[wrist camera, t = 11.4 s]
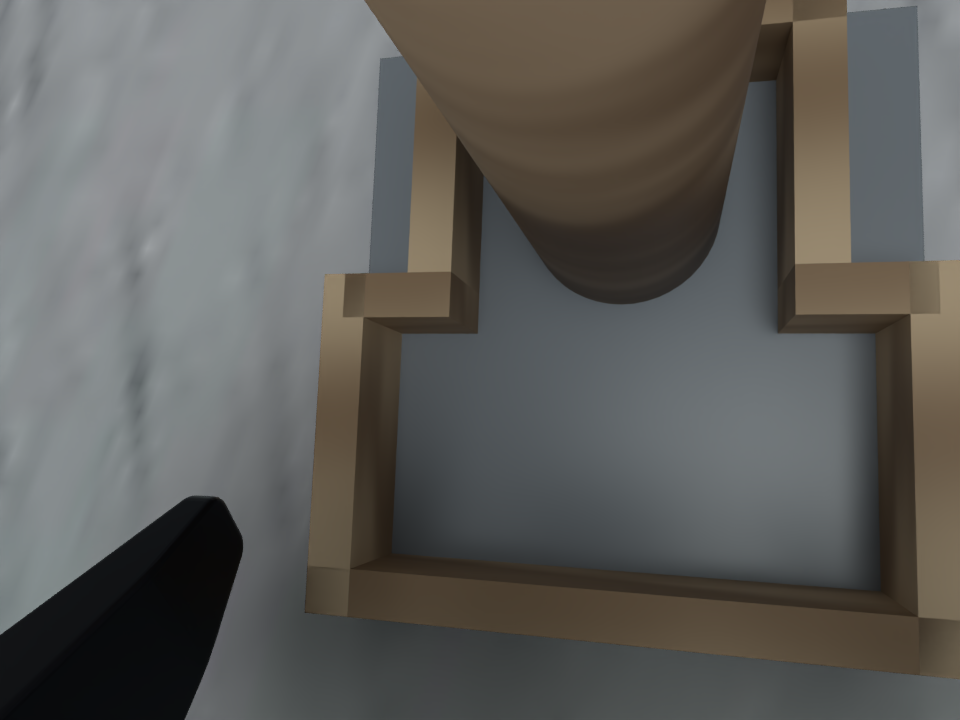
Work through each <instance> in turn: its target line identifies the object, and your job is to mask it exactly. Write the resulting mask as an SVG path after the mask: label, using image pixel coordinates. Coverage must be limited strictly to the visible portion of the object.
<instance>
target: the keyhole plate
mask: <svg viewBox="0 0 960 720" xmlns="http://www.w3.org/2000/svg"><path fill="white" fill-rule="evenodd" d="M305 613H313V614H323V615H333V616H343V617H353V618H362V619H372V620H382V621H392V622H402V623H412V624H421V625H431V626H441V627H451V628H461V629H470V630H480V631H490V632H500V633H510V634H520V635H529V636H539V637H549V638H559V639H569V640H578V641H588V642H598V643H608V644H618V645H628V646H637V647H647V648H657V649H667V650H677V651H686V652H696V653H706V654H716V655H726V656H736V657H745V658H755V659H765V660H775V661H785V662H794V663H804V664H814V665H824V666H834V667H844V668H853V669H863V670H873V671H883V672H893V673H902V674H912V675H922V676H932V677H942V678H952V679H960V260H950V261H924V231H923V195H922V160H921V125H920V90H919V54H918V19H917V6H910V7H900V8H890V9H880V10H870V11H859V12H849V13H847V0H766V4H765V9H764V14H763V19H762V23H761V28H760V33H759V38H758V43H757V47H756V52H755V57H754V62H753V66H752V71H751V76H750V81H749V86H748V90H747V95H746V100H745V105H744V109H743V114H742V119H741V124H740V129H739V133H738V138H737V143H736V148H735V153H734V157H733V162H732V167H731V172H730V176H729V181H728V186H727V191H726V196H725V200H724V205H723V210H722V215H721V219H720V224H719V229H718V233H717V236H716V239H715V242H714V244H713V246H712V248H711V250H710V252H709V254H708V256H707V257H706V259H705V260H704V262H703V263H702V265H701V266H700V267H699V268H698V269H697V270H696V272H695V273H694V274H693V275H692V276H691V277H690V278H688V279H687V280H686V281H685V282H684V283H682V284H681V285H680V286H678V287H677V288H675V289H673V290H672V291H670V292H668V293H666V294H664V295H662V296H660V297H657V298H654V299H651V300H648V301H644V302H639V303H634V304H608V303H602V302H597V301H594V300H591V299H588V298H585V297H583V296H581V295H579V294H577V293H575V292H573V291H572V290H570V289H568V288H567V287H565V286H564V285H563V284H562V283H561V282H560V281H558V280H557V279H556V278H555V277H554V276H553V274H552V273H551V272H550V271H549V270H548V268H547V267H546V265H545V264H544V262H543V261H542V260H541V258H540V257H539V255H538V254H537V252H536V251H535V249H534V248H533V246H532V245H531V243H530V242H529V241H528V239H527V238H526V236H525V235H524V233H523V232H522V230H521V229H520V227H519V226H518V224H517V223H516V221H515V220H514V219H513V217H512V216H511V214H510V213H509V211H508V210H507V208H506V207H505V205H504V204H503V202H502V201H501V200H500V198H499V197H498V195H497V194H496V192H495V191H494V189H493V188H492V186H491V185H490V183H489V182H488V180H487V179H486V178H485V176H484V175H483V173H482V172H481V170H480V169H479V167H478V166H477V164H476V163H475V161H474V160H473V158H472V157H471V156H470V154H469V153H468V151H467V150H466V148H465V147H464V145H463V144H462V142H461V141H460V139H459V138H458V137H457V135H456V134H455V132H454V131H453V129H452V128H451V126H450V125H449V123H448V122H447V120H446V119H445V117H444V116H443V115H442V113H441V112H440V110H439V109H438V107H437V106H436V104H435V103H434V101H433V100H432V98H431V97H430V95H429V94H428V93H427V91H426V90H425V88H424V87H423V85H422V84H421V82H420V81H419V79H418V78H417V76H416V75H415V74H414V72H413V71H412V69H411V68H410V66H409V65H408V63H407V62H406V60H405V59H404V57H393V58H382V59H380V76H379V95H378V113H377V132H376V151H375V170H374V188H373V207H372V226H371V245H370V264H369V273H360V274H325V282H324V298H323V315H322V332H321V348H320V365H319V382H318V399H317V415H316V432H315V449H314V466H313V482H312V499H311V516H310V533H309V549H308V566H307V583H306V600H305Z"/></svg>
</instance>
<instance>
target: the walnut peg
mask: <svg viewBox="0 0 960 720" xmlns="http://www.w3.org/2000/svg"><path fill="white" fill-rule="evenodd" d="M365 2H366V3H367V5H368V6H369V8H370V9H371V11H372V12H373V13H374V15H375V16H376V18H377V19H378V21H379V22H380V24H381V25H382V27H383V28H384V30H385V31H386V32H387V34H388V35H389V37H390V38H391V40H392V41H393V43H394V44H395V46H396V47H397V49H398V50H399V52H400V53H401V54H402V56H403V57H404V59H405V60H406V62H407V63H408V65H409V66H410V68H411V69H412V71H413V72H414V74H415V75H416V76H417V78H418V79H419V81H420V82H421V84H422V85H423V87H424V88H425V90H426V91H427V93H428V94H429V95H430V97H431V98H432V100H433V101H434V103H435V104H436V106H437V107H438V109H439V110H440V112H441V113H442V115H443V116H444V117H445V119H446V120H447V122H448V123H449V125H450V126H451V128H452V129H453V131H454V132H455V134H456V135H457V137H458V138H459V139H460V141H461V142H462V144H463V145H464V147H465V148H466V150H467V151H468V153H469V154H470V156H471V157H472V158H473V160H474V161H475V163H476V164H477V166H478V167H479V169H480V170H481V172H482V173H483V175H484V176H485V178H486V179H487V180H488V182H489V183H490V185H491V186H492V188H493V189H494V191H495V192H496V194H497V195H498V197H499V198H500V200H501V201H502V202H503V204H504V205H505V207H506V208H507V210H508V211H509V213H510V214H511V216H512V217H513V219H514V220H515V221H516V223H517V224H518V226H519V227H520V229H521V230H522V232H523V233H524V235H525V236H526V238H527V239H528V241H529V242H530V243H531V245H532V246H533V248H534V249H535V251H536V252H537V254H538V255H539V257H540V258H541V260H542V261H543V262H544V264H545V265H546V267H547V268H548V270H549V271H550V272H551V273H552V274H553V276H554V277H555V278H556V279H557V280H558V281H560V282H561V283H562V284H563V285H564V286H565V287H567V288H568V289H570V290H572V291H573V292H575V293H577V294H579V295H581V296H583V297H585V298H588V299H591V300H594V301H597V302H602V303H608V304H634V303H639V302H644V301H648V300H651V299H654V298H657V297H660V296H662V295H664V294H666V293H668V292H670V291H672V290H673V289H675V288H677V287H678V286H680V285H681V284H682V283H684V282H685V281H686V280H687V279H688V278H690V277H691V276H692V275H693V274H694V273H695V272H696V270H697V269H698V268H699V267H700V266H701V265H702V263H703V262H704V260H705V259H706V257H707V256H708V254H709V252H710V250H711V248H712V246H713V244H714V242H715V239H716V236H717V233H718V229H719V224H720V219H721V215H722V210H723V205H724V200H725V196H726V191H727V186H728V181H729V176H730V172H731V167H732V162H733V157H734V153H735V148H736V143H737V138H738V133H739V129H740V124H741V119H742V114H743V109H744V105H745V100H746V95H747V90H748V86H749V81H750V76H751V71H752V66H753V62H754V57H755V52H756V47H757V43H758V38H759V33H760V28H761V23H762V19H763V14H764V9H765V4H766V0H365Z"/></svg>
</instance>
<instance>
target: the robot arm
mask: <svg viewBox="0 0 960 720" xmlns="http://www.w3.org/2000/svg"><path fill="white" fill-rule="evenodd" d="M242 552H243V539H242V535H241V533H240V531H239V529H238V527H237V525H236V523H235V522H234V520H233V518H232V516H231V514H230V512H229V510H228V508H227V506H226V504H225V503H224V501H223V500H222V499H220V498H219V497H213V496H190V497H188V498H186V499H184V500H183V501H181V502H180V503H178V504H177V505H176V506H174V507H173V508H172V509H170V510H169V511H168V512H166V513H165V514H164V515H162V516H161V517H159V518H158V519H157V520H155V521H154V522H153V523H151V524H150V525H149V526H147V527H146V528H145V529H143V530H142V531H141V532H139V533H138V534H136V535H135V536H134V537H132V538H131V539H130V540H128V541H127V542H126V543H124V544H123V545H122V546H120V547H119V548H117V549H116V550H115V551H113V552H112V553H111V554H109V555H108V556H107V557H105V558H104V559H103V560H101V561H100V562H99V563H97V564H96V565H94V566H93V567H92V568H90V569H89V570H88V571H86V572H85V573H84V574H82V575H81V576H80V577H78V578H77V579H75V580H74V581H73V582H71V583H70V584H69V585H67V586H66V587H65V588H63V589H62V590H61V591H59V592H58V593H56V594H55V595H54V596H52V597H51V598H50V599H48V600H47V601H46V602H44V603H43V604H42V605H40V606H39V607H38V608H36V609H35V610H33V611H32V612H31V613H29V614H28V615H27V616H25V617H24V618H23V619H21V620H20V621H19V622H17V623H16V624H14V625H13V626H12V627H10V628H9V629H8V630H6V631H5V632H4V633H2V634H1V635H0V720H185V717H186V715H187V713H188V710H189V708H190V706H191V703H192V701H193V699H194V696H195V694H196V691H197V689H198V687H199V684H200V682H201V679H202V677H203V674H204V672H205V669H206V667H207V664H208V662H209V659H210V656H211V653H212V650H213V647H214V644H215V641H216V638H217V634H218V631H219V628H220V625H221V621H222V618H223V615H224V612H225V608H226V605H227V602H228V599H229V596H230V592H231V589H232V586H233V583H234V579H235V576H236V573H237V570H238V567H239V563H240V560H241V557H242Z"/></svg>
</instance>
